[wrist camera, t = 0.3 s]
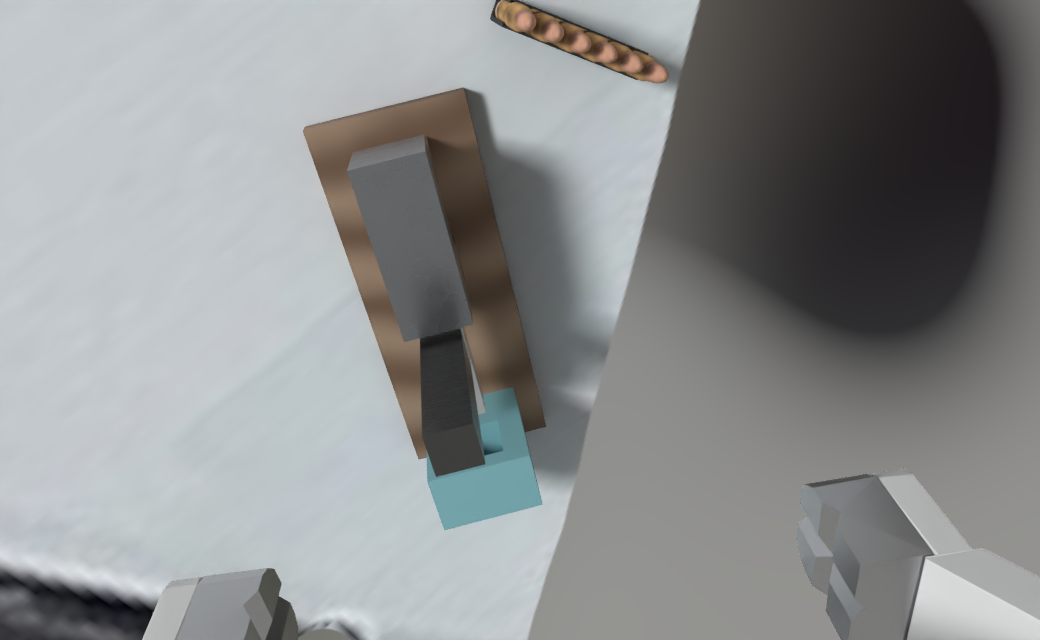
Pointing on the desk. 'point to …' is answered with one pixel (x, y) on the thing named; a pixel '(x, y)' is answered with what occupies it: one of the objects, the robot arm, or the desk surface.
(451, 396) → the dark grey upright post
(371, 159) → the outer sleeve
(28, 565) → the desk surface
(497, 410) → the socket block
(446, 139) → the base board
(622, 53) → the ammunition clip
